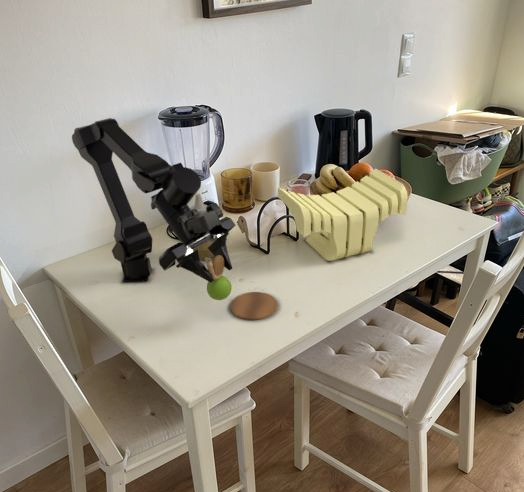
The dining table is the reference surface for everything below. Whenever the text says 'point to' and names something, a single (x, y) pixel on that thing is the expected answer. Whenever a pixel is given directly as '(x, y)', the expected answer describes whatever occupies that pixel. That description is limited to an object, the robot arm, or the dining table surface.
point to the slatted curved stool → (346, 214)
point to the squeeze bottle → (203, 249)
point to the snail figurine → (218, 279)
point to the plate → (253, 306)
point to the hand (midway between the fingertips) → (221, 275)
